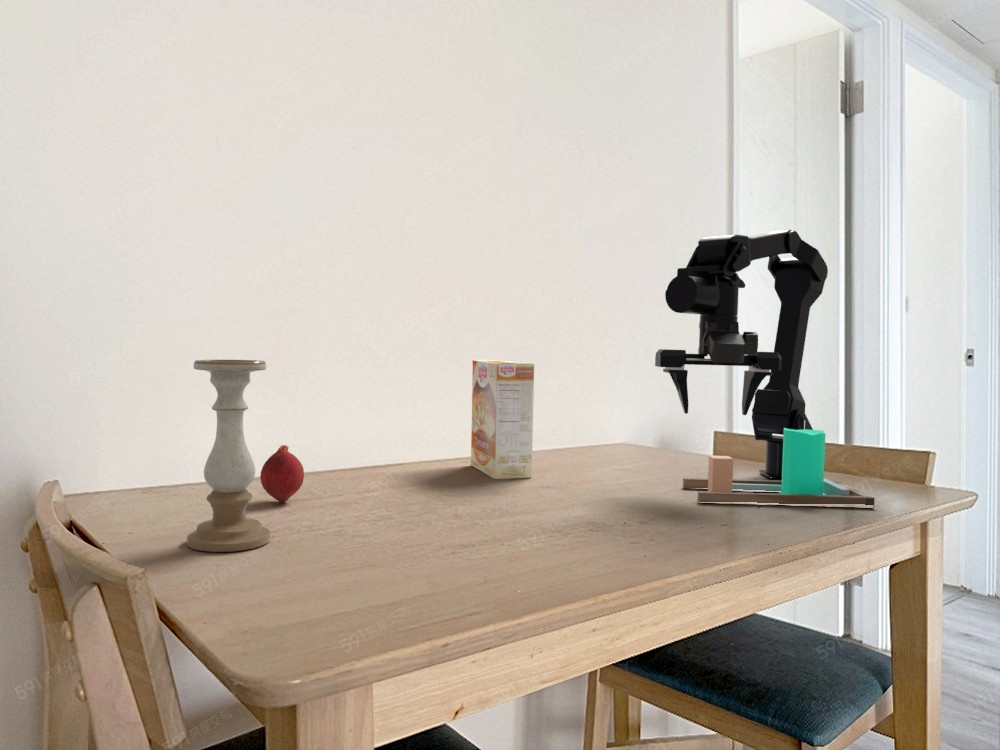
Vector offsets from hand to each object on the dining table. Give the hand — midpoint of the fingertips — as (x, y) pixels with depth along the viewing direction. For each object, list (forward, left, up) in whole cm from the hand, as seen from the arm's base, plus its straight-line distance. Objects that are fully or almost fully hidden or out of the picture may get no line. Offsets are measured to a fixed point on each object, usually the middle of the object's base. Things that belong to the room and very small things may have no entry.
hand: (715, 414), depth 127 cm
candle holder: (+41, -62, -12) cm, 76 cm away
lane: (+5, +8, -12) cm, 15 cm away
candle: (+5, +12, -12) cm, 18 cm away
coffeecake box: (-12, -34, -12) cm, 38 cm away
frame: (+5, +8, -12) cm, 15 cm away
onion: (+19, -63, -12) cm, 67 cm away
